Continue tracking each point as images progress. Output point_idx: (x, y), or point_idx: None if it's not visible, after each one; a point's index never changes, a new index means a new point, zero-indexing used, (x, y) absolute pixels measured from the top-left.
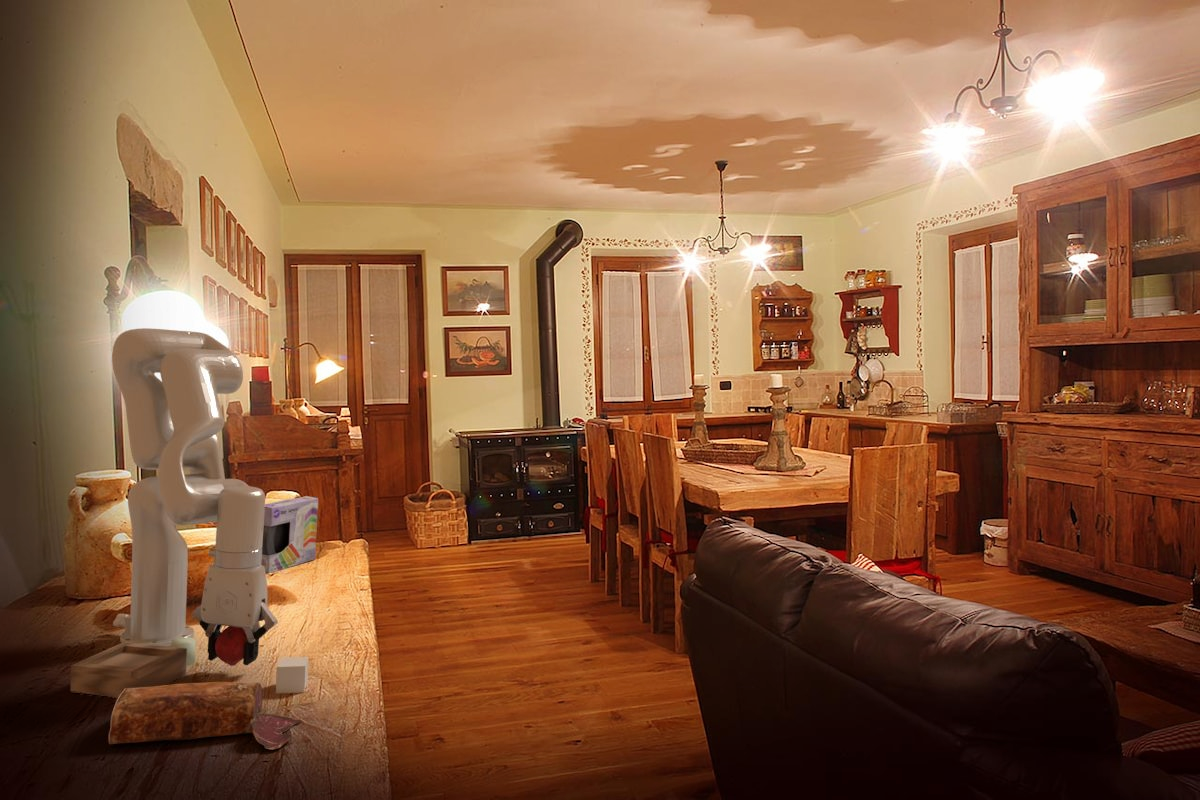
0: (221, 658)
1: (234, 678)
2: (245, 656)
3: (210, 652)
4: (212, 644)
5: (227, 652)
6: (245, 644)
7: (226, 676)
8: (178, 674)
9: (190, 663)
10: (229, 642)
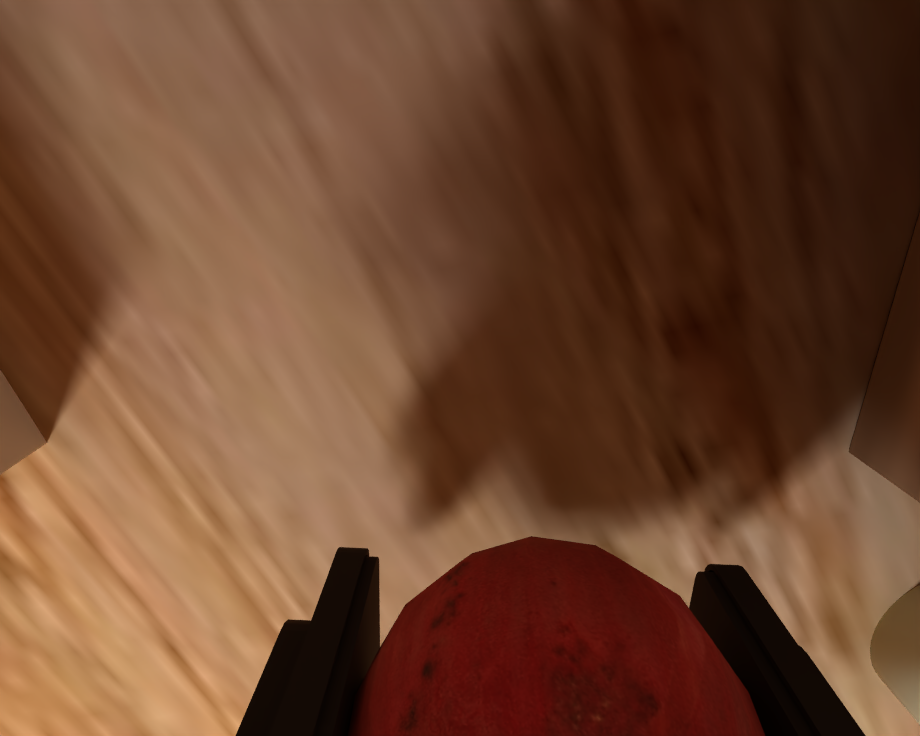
0: (588, 545)
1: (443, 457)
2: (337, 603)
3: (754, 614)
4: (786, 697)
5: (514, 575)
6: (308, 727)
7: (524, 480)
8: (901, 374)
9: (891, 623)
10: (519, 704)
